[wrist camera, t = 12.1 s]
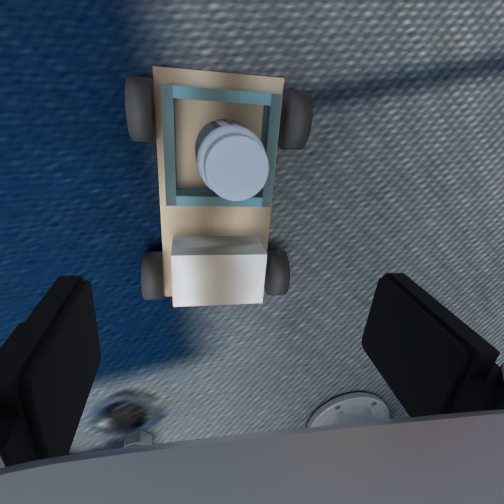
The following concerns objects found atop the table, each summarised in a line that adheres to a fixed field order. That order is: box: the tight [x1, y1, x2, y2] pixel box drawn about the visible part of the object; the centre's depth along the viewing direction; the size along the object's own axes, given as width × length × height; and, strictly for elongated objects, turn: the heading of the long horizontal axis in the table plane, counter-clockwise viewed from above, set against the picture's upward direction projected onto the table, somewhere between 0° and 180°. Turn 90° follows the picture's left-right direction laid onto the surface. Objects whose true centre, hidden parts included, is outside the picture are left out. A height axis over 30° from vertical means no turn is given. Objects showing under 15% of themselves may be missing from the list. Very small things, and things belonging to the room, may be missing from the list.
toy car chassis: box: [125, 66, 312, 307], centre depth 27 cm, size 13×20×5 cm, turn 176°
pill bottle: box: [195, 119, 269, 201], centre depth 23 cm, size 5×5×8 cm
